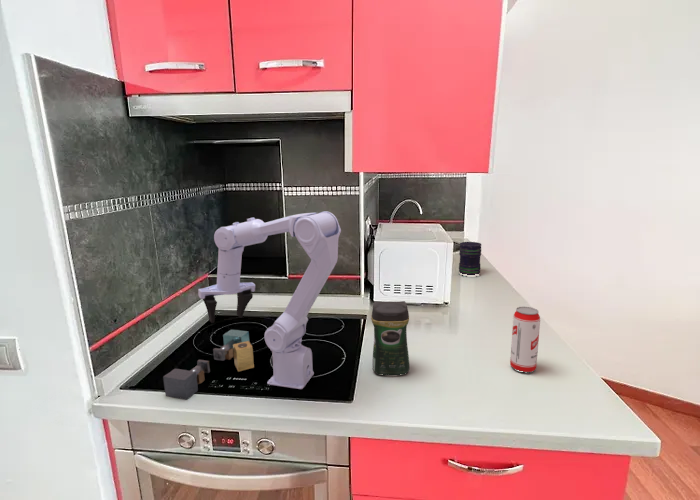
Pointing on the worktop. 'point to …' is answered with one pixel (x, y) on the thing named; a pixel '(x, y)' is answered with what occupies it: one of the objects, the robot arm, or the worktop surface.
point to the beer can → (525, 339)
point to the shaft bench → (200, 368)
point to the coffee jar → (390, 338)
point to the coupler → (243, 356)
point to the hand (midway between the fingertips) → (225, 318)
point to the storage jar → (470, 258)
